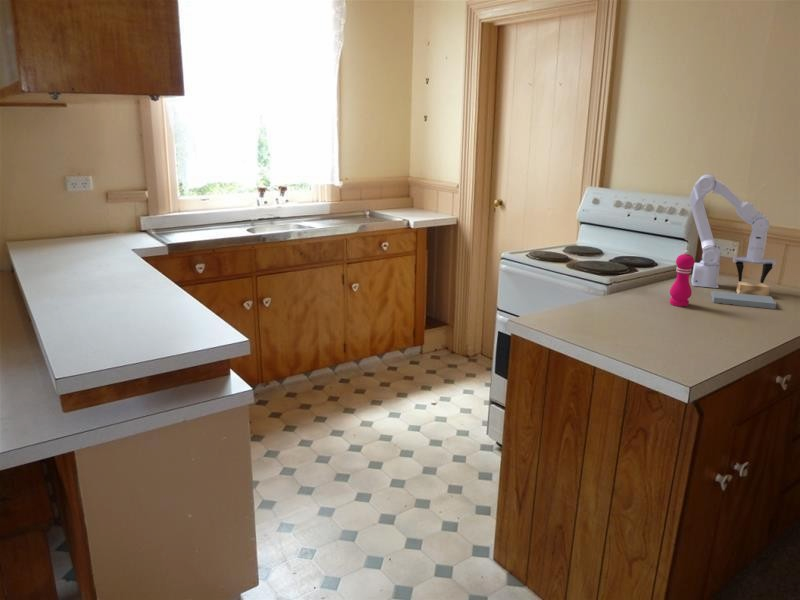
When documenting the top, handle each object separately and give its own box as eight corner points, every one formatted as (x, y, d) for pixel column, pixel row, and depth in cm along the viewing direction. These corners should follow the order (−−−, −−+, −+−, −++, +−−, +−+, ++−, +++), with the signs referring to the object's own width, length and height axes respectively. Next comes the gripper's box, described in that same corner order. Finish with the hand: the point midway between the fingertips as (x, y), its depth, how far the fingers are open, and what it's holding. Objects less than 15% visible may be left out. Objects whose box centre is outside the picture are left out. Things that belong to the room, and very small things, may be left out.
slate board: (713, 302, 230) (714, 297, 229) (710, 295, 239) (711, 290, 238) (775, 309, 223) (776, 303, 223) (770, 301, 232) (771, 296, 232)
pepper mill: (668, 305, 226) (675, 251, 220) (668, 300, 232) (675, 247, 226) (690, 308, 223) (698, 253, 217) (689, 302, 229) (697, 249, 224)
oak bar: (738, 296, 240) (740, 284, 239) (736, 292, 244) (738, 281, 243) (767, 298, 237) (770, 287, 236) (764, 295, 242) (766, 283, 240)
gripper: (736, 248, 241) (731, 282, 245) (779, 251, 237) (773, 285, 240) (734, 244, 248) (729, 278, 252) (776, 247, 243) (770, 281, 247)
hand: (750, 281), depth 246 cm, fingers open, 7 cm apart
